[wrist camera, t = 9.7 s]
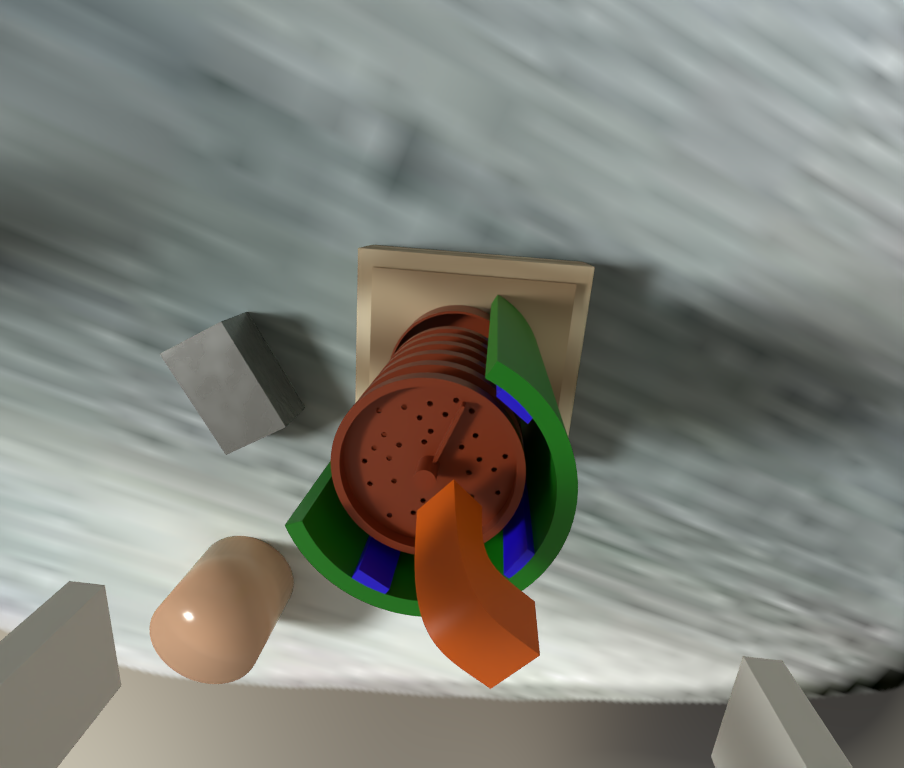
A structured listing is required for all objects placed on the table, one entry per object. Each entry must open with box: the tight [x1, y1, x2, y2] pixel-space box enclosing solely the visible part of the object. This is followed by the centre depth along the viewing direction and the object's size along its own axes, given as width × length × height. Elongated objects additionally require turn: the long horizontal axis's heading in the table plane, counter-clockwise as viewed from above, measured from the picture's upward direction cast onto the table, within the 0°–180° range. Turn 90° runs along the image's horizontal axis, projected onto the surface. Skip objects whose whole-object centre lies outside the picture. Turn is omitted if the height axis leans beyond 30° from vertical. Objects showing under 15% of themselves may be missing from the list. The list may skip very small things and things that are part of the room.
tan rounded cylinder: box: [150, 536, 294, 684], centre depth 41 cm, size 8×8×7 cm
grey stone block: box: [160, 312, 305, 455], centre depth 37 cm, size 8×5×4 cm, turn 26°
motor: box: [285, 295, 578, 689], centre depth 23 cm, size 10×9×20 cm
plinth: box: [355, 245, 595, 435], centre depth 34 cm, size 14×14×5 cm
